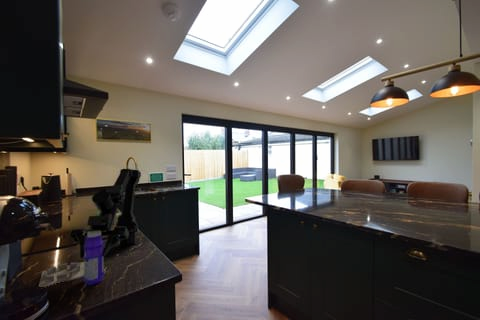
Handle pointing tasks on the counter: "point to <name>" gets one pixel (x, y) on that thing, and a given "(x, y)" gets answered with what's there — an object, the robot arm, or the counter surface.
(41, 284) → the collar plate
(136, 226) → the robot arm
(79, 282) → the counter surface
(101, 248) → the bottle
